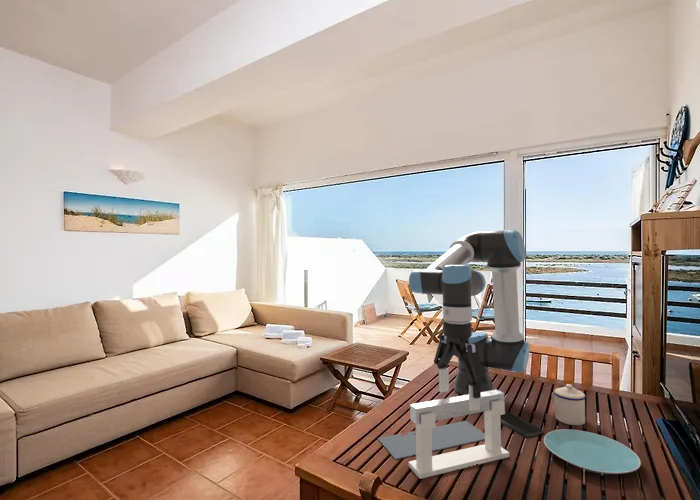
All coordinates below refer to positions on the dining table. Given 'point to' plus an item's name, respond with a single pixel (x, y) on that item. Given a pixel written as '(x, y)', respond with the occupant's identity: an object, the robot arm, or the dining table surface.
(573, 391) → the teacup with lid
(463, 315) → the robot arm
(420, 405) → the steel rail
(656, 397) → the dining table surface
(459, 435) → the slate mat
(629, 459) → the plate
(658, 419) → the dining table surface
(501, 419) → the phone
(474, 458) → the rail cradle stand
